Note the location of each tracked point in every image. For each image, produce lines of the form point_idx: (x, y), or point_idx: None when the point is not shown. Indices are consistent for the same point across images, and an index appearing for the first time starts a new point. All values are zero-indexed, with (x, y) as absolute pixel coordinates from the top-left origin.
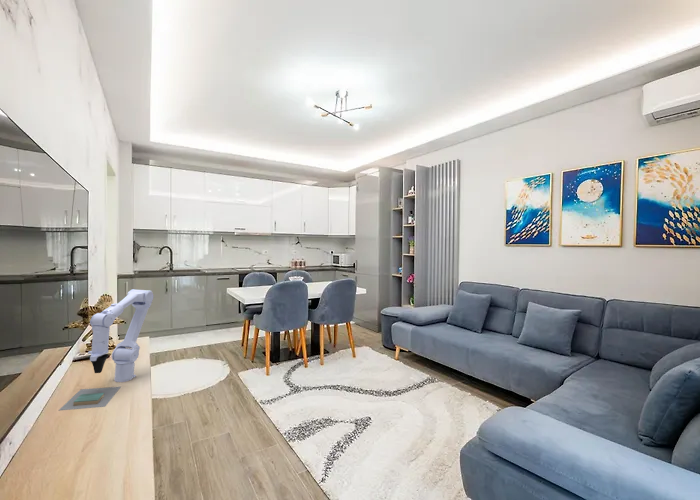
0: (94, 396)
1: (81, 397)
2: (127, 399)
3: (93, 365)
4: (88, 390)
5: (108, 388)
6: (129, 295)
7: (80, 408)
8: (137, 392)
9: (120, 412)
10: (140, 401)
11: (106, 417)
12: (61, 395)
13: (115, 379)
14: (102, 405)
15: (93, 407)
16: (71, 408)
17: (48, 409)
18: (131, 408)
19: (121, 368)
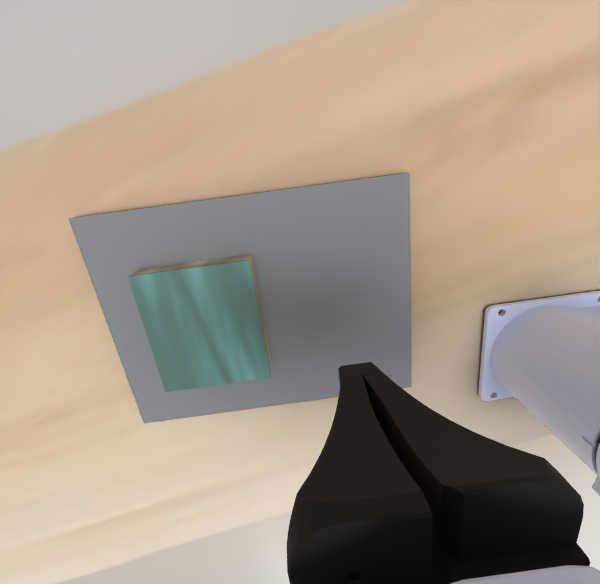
0: (215, 352)
1: (197, 288)
2: (255, 459)
3: (331, 429)
4: (377, 235)
5: (393, 335)
6: None
7: (109, 325)
8: None
9: (116, 485)
10: (232, 511)
11: (61, 457)
12: (342, 73)
13: (521, 327)
14: (155, 407)
15: (128, 379)
16: (104, 278)
17: (112, 127)
18: (159, 506)
19: (564, 416)
